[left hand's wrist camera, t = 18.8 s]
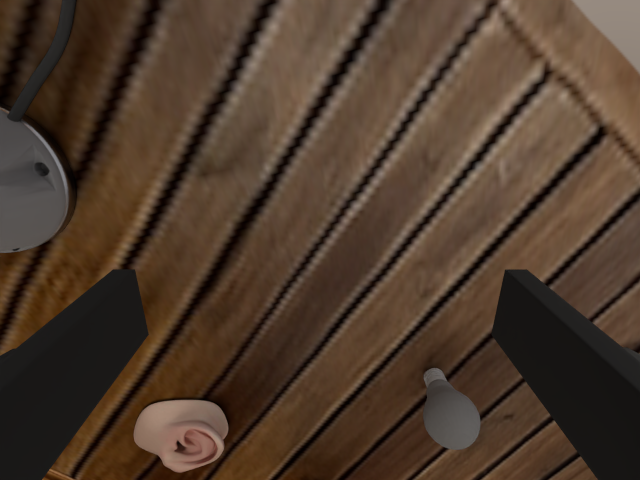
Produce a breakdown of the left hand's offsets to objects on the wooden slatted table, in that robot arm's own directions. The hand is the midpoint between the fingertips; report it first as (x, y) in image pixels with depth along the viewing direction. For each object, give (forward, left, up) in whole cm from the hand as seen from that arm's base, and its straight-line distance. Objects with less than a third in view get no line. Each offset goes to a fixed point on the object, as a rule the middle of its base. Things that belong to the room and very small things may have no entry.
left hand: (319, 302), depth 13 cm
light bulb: (+14, +27, -26) cm, 39 cm away
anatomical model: (+41, +4, -26) cm, 48 cm away
